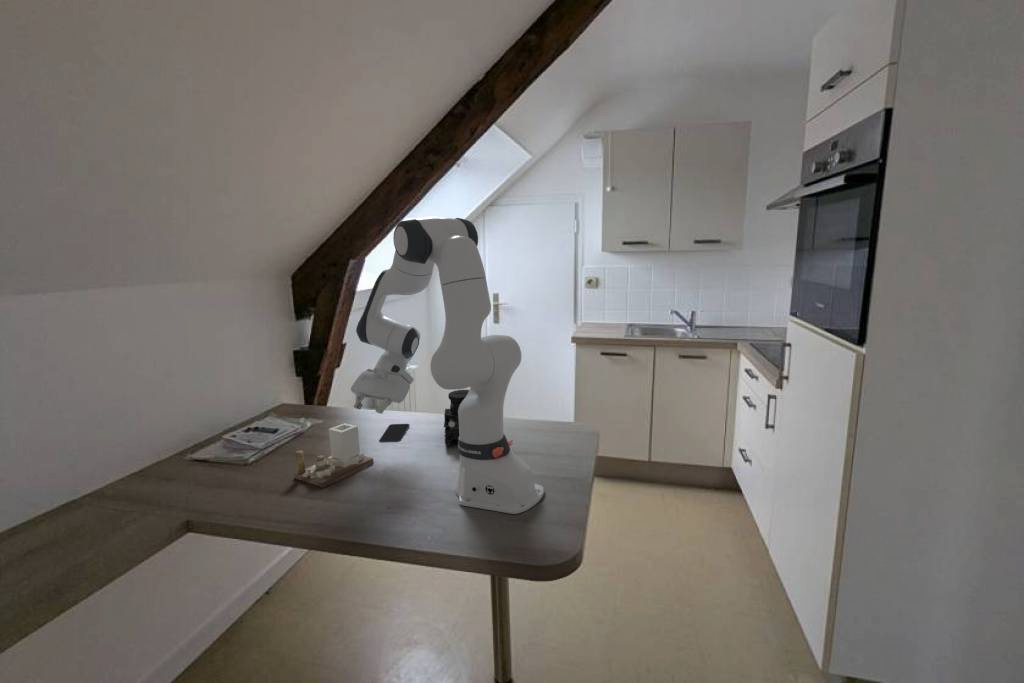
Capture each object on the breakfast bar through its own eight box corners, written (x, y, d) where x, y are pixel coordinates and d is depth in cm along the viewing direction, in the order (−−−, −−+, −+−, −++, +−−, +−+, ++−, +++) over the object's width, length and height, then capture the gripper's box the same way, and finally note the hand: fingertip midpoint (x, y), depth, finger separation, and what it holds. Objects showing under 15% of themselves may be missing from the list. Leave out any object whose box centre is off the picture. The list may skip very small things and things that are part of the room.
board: (373, 463, 145) (371, 438, 143) (322, 488, 130) (319, 461, 129) (346, 455, 151) (343, 432, 150) (294, 478, 137) (291, 452, 135)
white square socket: (371, 457, 145) (368, 424, 143) (343, 470, 137) (340, 436, 135) (348, 451, 150) (345, 419, 149) (320, 463, 142) (317, 430, 140)
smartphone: (377, 441, 161) (389, 424, 176) (378, 444, 161) (389, 427, 176) (400, 440, 161) (410, 423, 175) (400, 444, 161) (410, 426, 176)
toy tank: (482, 427, 171) (480, 386, 169) (484, 448, 154) (482, 401, 151) (446, 429, 170) (444, 388, 168) (444, 450, 153) (441, 404, 150)
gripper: (359, 363, 159) (337, 400, 152) (406, 369, 148) (385, 409, 142) (371, 373, 163) (350, 410, 157) (417, 380, 153) (397, 420, 146)
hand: (367, 410), depth 149 cm, fingers open, 8 cm apart
